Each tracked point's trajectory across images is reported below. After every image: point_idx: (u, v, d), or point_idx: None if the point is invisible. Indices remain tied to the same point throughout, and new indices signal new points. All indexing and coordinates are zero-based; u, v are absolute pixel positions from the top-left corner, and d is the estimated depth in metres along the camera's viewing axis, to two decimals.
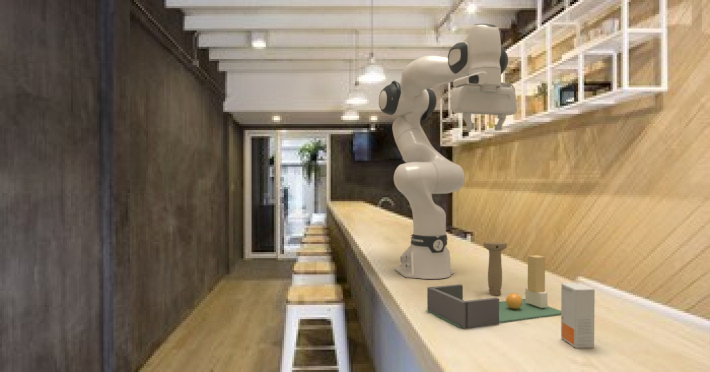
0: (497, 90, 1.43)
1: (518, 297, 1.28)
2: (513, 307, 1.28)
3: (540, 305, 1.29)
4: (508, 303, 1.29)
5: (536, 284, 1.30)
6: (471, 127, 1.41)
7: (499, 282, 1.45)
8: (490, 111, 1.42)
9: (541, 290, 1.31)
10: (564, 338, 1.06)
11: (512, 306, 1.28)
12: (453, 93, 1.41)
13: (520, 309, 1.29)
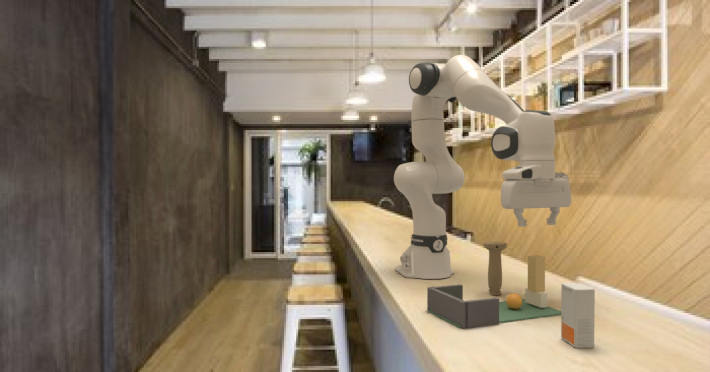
0: (551, 182, 1.31)
1: (518, 297, 1.28)
2: (513, 307, 1.28)
3: (540, 305, 1.29)
4: (508, 303, 1.29)
5: (536, 284, 1.30)
6: (524, 225, 1.29)
7: (499, 282, 1.45)
8: (543, 206, 1.30)
9: (541, 290, 1.31)
10: (564, 338, 1.06)
11: (512, 306, 1.28)
12: (503, 187, 1.29)
13: (520, 309, 1.29)
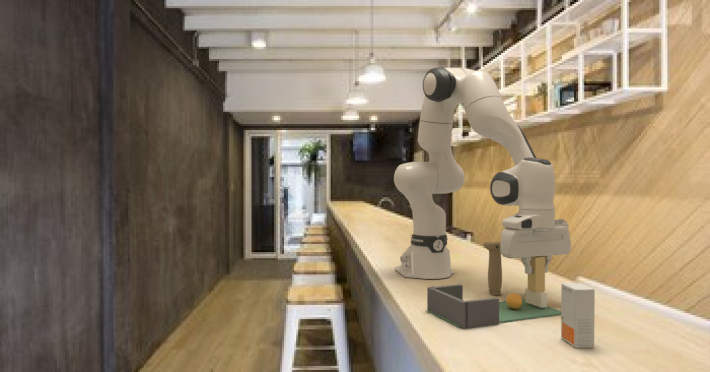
0: (550, 230, 1.31)
1: (518, 297, 1.28)
2: (513, 307, 1.28)
3: (540, 305, 1.29)
4: (508, 303, 1.29)
5: (536, 284, 1.30)
6: (531, 272, 1.30)
7: (499, 282, 1.45)
8: (543, 254, 1.30)
9: (541, 290, 1.31)
10: (564, 338, 1.06)
11: (512, 306, 1.28)
12: (503, 236, 1.29)
13: (520, 309, 1.29)
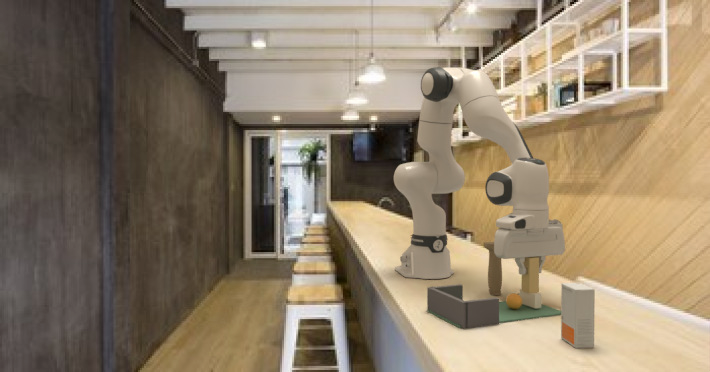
0: (544, 231, 1.30)
1: (518, 297, 1.28)
2: (513, 307, 1.28)
3: (534, 306, 1.28)
4: (508, 303, 1.29)
5: (529, 285, 1.29)
6: (525, 273, 1.29)
7: (499, 282, 1.45)
8: (537, 254, 1.30)
9: (535, 291, 1.30)
10: (564, 338, 1.06)
11: (512, 306, 1.28)
12: (496, 236, 1.28)
13: (520, 309, 1.29)
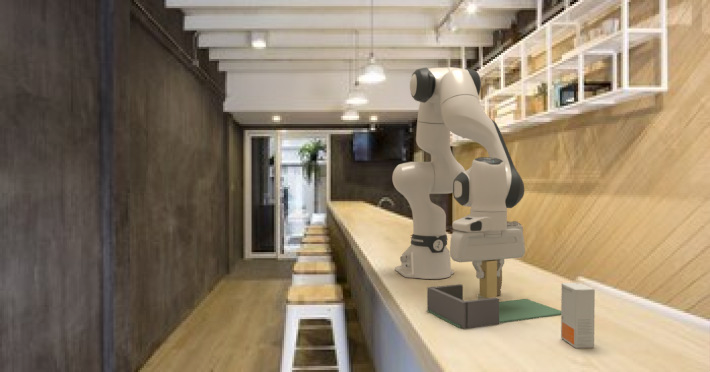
0: (502, 233, 1.25)
1: None
2: None
3: None
4: None
5: (487, 289, 1.25)
6: (482, 277, 1.25)
7: (499, 282, 1.45)
8: (494, 258, 1.25)
9: (493, 295, 1.25)
10: (564, 338, 1.06)
11: None
12: (452, 238, 1.24)
13: (520, 309, 1.29)
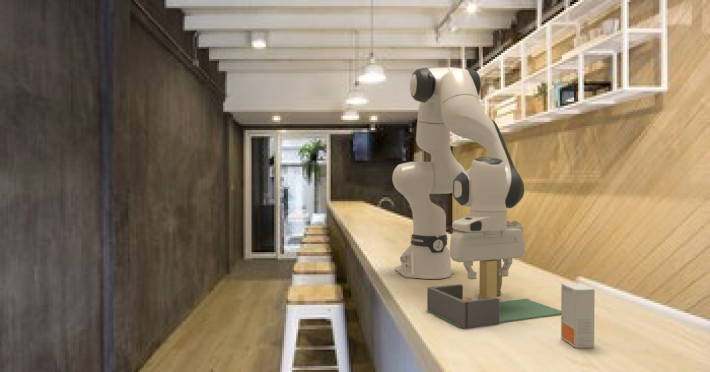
0: (502, 233, 1.25)
1: None
2: None
3: None
4: None
5: (487, 289, 1.25)
6: (473, 278, 1.24)
7: (499, 282, 1.45)
8: (494, 258, 1.25)
9: (493, 295, 1.25)
10: (564, 338, 1.06)
11: None
12: (452, 238, 1.24)
13: (520, 309, 1.29)
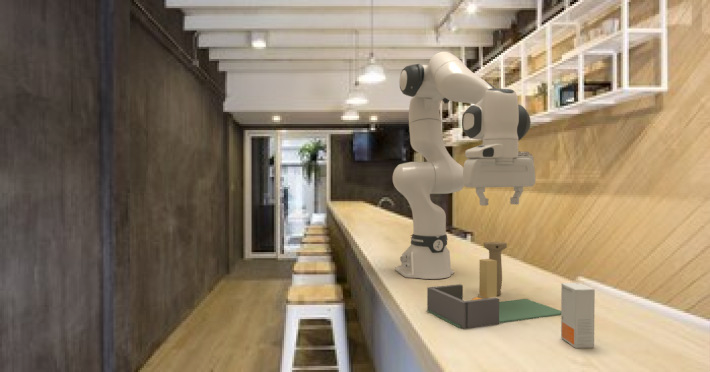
0: (514, 161, 1.30)
1: None
2: None
3: None
4: None
5: (487, 289, 1.25)
6: (485, 204, 1.28)
7: (499, 282, 1.45)
8: (506, 185, 1.29)
9: (493, 295, 1.25)
10: (564, 338, 1.06)
11: None
12: (465, 166, 1.28)
13: (520, 309, 1.29)
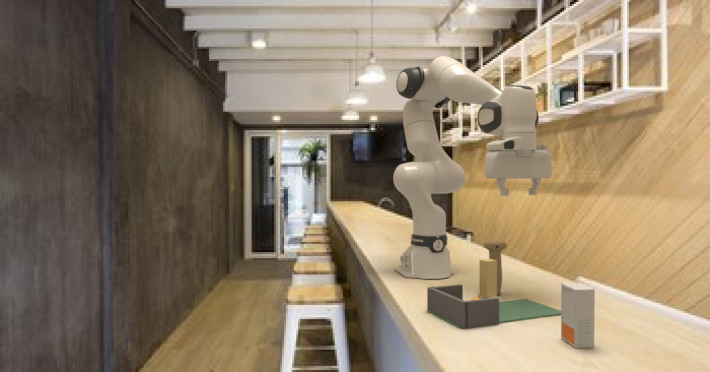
0: (532, 154, 1.37)
1: None
2: None
3: None
4: None
5: (487, 289, 1.25)
6: (506, 194, 1.35)
7: (499, 282, 1.45)
8: (525, 176, 1.36)
9: (493, 295, 1.25)
10: (564, 338, 1.06)
11: None
12: (487, 158, 1.35)
13: (520, 309, 1.29)
